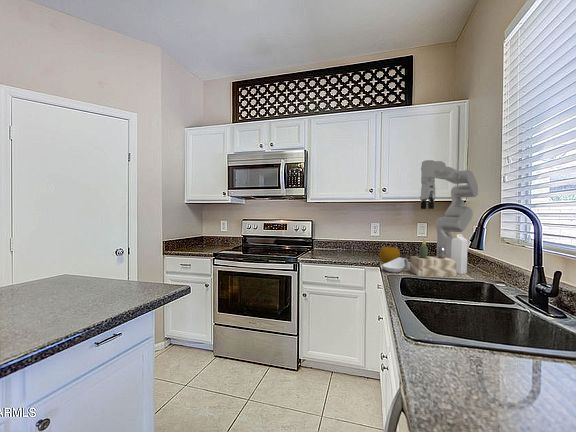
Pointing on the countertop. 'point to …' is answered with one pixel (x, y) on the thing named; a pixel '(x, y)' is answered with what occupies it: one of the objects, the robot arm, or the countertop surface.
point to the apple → (389, 254)
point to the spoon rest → (396, 265)
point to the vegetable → (423, 250)
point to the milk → (460, 253)
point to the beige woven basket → (433, 265)
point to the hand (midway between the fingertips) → (427, 208)
